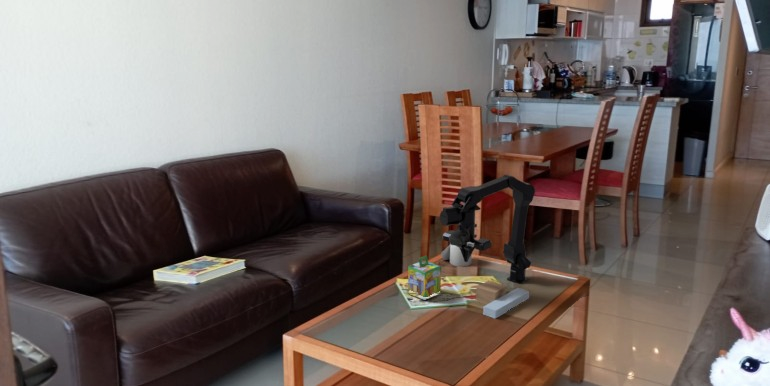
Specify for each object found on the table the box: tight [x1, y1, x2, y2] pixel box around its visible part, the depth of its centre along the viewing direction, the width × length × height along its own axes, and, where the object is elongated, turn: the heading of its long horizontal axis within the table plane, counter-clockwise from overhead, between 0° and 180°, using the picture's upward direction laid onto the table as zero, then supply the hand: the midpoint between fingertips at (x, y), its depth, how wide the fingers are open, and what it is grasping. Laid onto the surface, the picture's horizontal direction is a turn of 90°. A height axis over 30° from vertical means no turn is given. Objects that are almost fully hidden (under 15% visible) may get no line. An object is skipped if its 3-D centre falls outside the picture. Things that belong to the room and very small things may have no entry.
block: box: [475, 280, 508, 306], centre depth 230 cm, size 8×8×6 cm
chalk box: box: [407, 255, 442, 297], centre depth 235 cm, size 9×9×15 cm
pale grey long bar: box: [482, 287, 530, 319], centre depth 226 cm, size 22×5×3 cm, turn 136°
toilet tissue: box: [440, 243, 473, 267], centre depth 268 cm, size 9×13×9 cm
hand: (466, 261), depth 237 cm, fingers closed
